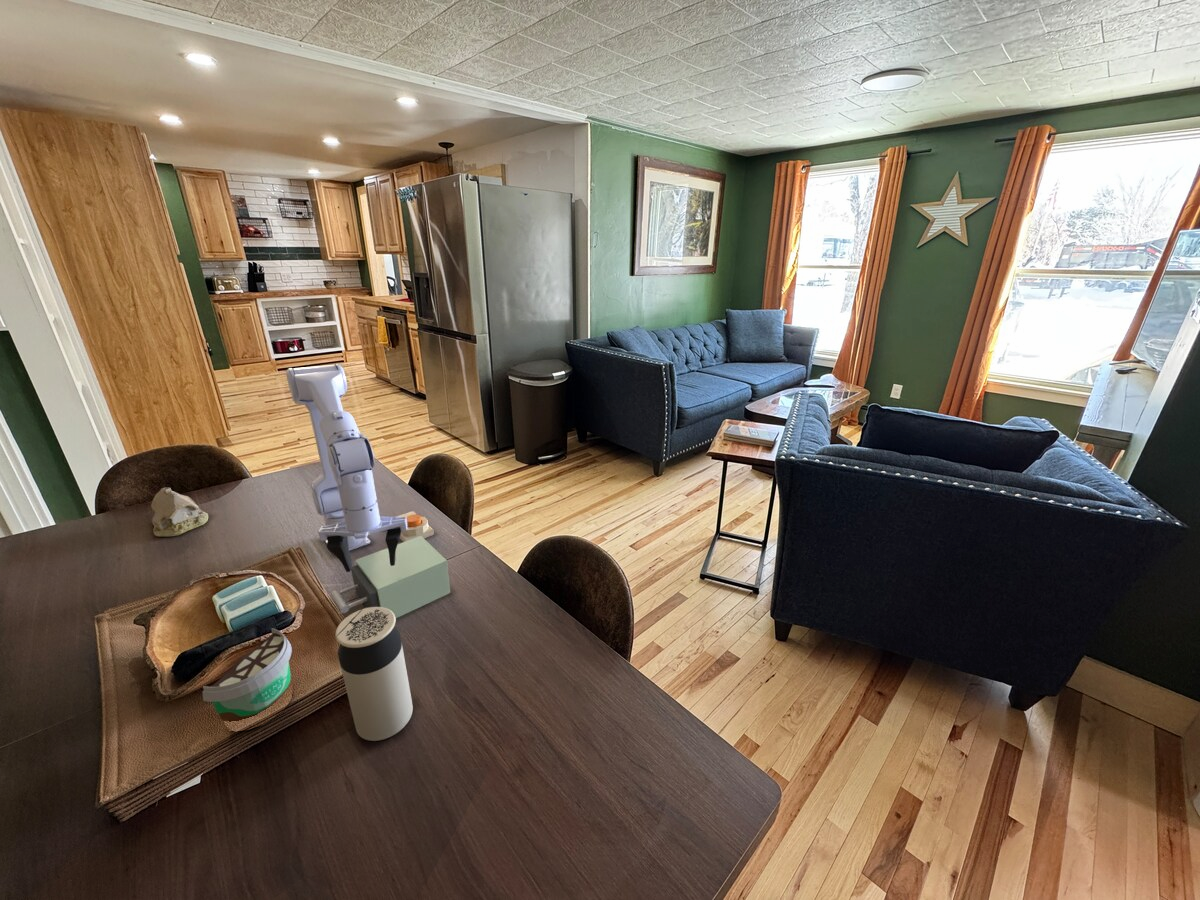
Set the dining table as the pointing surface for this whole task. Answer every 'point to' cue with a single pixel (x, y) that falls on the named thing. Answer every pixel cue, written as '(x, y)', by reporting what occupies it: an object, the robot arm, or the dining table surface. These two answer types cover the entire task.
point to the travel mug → (374, 672)
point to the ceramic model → (175, 513)
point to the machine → (407, 576)
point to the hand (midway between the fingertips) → (371, 565)
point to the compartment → (357, 592)
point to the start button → (413, 520)
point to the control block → (416, 529)
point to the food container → (253, 680)
